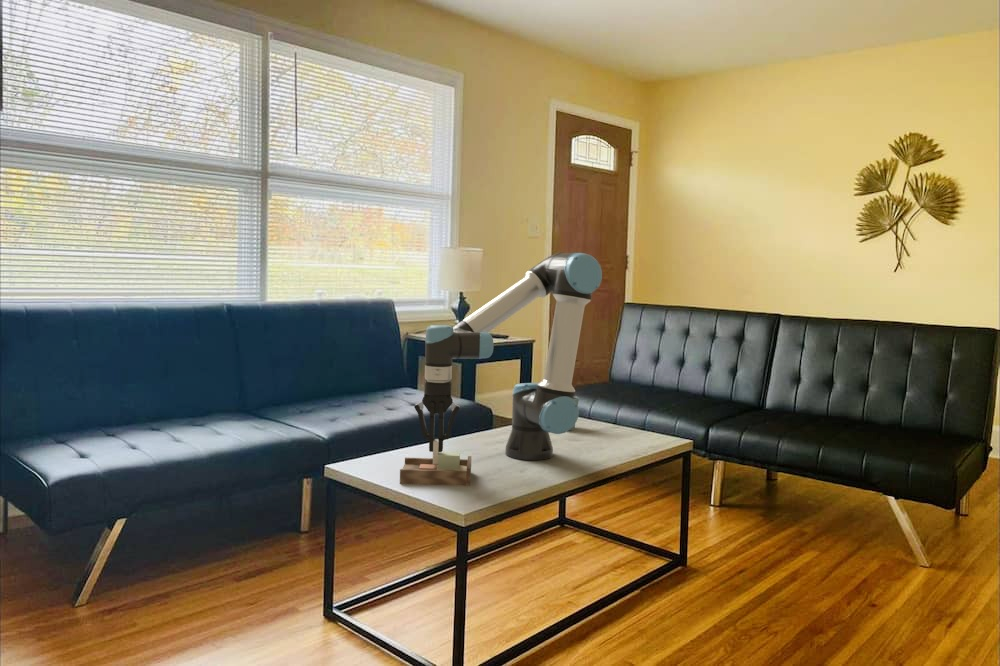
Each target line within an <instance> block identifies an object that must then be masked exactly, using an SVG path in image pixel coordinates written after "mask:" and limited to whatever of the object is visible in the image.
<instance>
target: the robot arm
mask: <svg viewBox="0 0 1000 666" xmlns="http://www.w3.org/2000/svg"><path fill="white" fill-rule="evenodd" d="M602 280H603V271H602V266H601V264H600V262H599V261H598V260H597V259H596V258H595V257H594V256H592V255H591V254H588V253H584V252H557V253H554V254H551V255H550V256H548V257H546V258H544V259H543V260H542V261H540V262H538V263H537V264H536V265H534V266H533V267H531V268H530V269H528V270H527V271H526V272H525V274H524V277H523V278H521V279H520V280H518V281H517V282H516V283H514V284H513V285H511V286H510V287H509V288H507V289H506V290H504V291H502V292H501V293H500V294H499V295H497V296H496V297H494V298H493V299H491V300H490V301H488V302H487V303H485V304H484V305H482V306H481V307H480V308H479V309H477V310H475V311H474V312H472V314H469V316H467V317H465V318H464V319H462V320H461V321H460V322H458V323H457V324H455V325H454V326H451V325H448V324H447V325H446V324H431V325H429V326H428V327H427V328H426V330H425V331H426V333H425V340H424V341H425V342H424V343H425V352H424V353H425V356H424V359H425V361H424V379H425V381H424V387H423V393H424V394H423V397H422V398H421V399H422V401H420V402H418V403H415V404H414V409H415V411H416V413H417V417H418V420H419V423H420V424H419V425H420V429H421V430H420V431H421V434H422V438H423V439H426V440H428V443H429V445H428V450H429V453H431V452H432V458H433V464H438V453H439V452H444V451H443V449H444V441H445V440H449V439H450V436H451V432H452V429H453V424H454V421H455V418H456V415H457V413H458V412H459V410H460V408H461V405H460V404H456V403H455V402H454V401H453V398H452V381H451V380H452V379H453V377H452V376H453V374H452V373H453V360H458V359H460V360H461V359H462V360H463V359H464V360H465V359H466V360H467V359H470V360H473V359H475V360H477V359H479V360H481V359H488V358H489V359H490V357H491V356H492V355H493V353H494V345H495V344H494V339H493V336H492V334H490V332H491V331H493V330H494V329H495V328H497V327H498V326H500V325H501V324H503V323H504V322H505V321H507V320H508V319H510V318H511V317H513V316H514V315H515V314H517V313H519V311H521V310H522V309H524V308H525V307H526V306H528V305H529V304H531V303H532V302H534V301H535V300H536V299H538V298H545V297H547V296H548V295H549V294H551V293H552V296H553V298H554V299H555V308H554V315H553V321H552V325H551V332H550V339H549V345H548V351H547V356H546V362H545V368H544V374H543V379H542V380H541V381H539V382H524V383H523V382H522V383H517V384H514V387H513V389H512V412H511V414H512V415H511V432H510V434H509V437H508V440H507V442H506V445H505V455H506V456H508V457H509V458H512V459H517V460H525V461H541V460H542V461H543V460H548V459H550V458H552V457H553V456H554V454H553V453H554V447H553V444H552V441H551V435H550V434H554V435H555V434H556V435H561V434H565V433H567V432H569V431H568V430H570V429H571V428H572V427H573V426H574V425H575V426H576V424H577V421H578V420H579V419H578V418H579V415H580V414H579V413H580V410H579V405H578V406H577V404H576V402H575V401H574V397H575V396H576V390H575V389H576V388H575V387H574V386H573V384H572V383H573V379H574V378H573V377H574V372H575V367H576V366H575V365H576V359H577V354H578V348H579V342H580V337H581V331H582V323H583V320H584V319H583V318H584V314H585V313H584V312H585V308H586V305H588V304H589V303H590V302H591V301H592V296H593V293H594V292H595V291H596V290H597V289H598V288H599V287H600V285H601V283H602ZM424 407H425V408H426V410H427V412H428V413H429V433H428V428H427V423H426V420H425V414H424ZM450 407H451V408H450ZM449 408H450V411H452V412H451V414H450V416H449V421H448V425H447V429H446V432H445V434H444V426H445V425H444V424H445V413H446V412H447V411H448V410H449ZM436 414H438V438H435V424H436V422H435V421H436V419H435V418H436Z"/></svg>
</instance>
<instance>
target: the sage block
mask: <svg viewBox="0 0 1000 666" xmlns="http://www.w3.org/2000/svg"><path fill="white" fill-rule="evenodd" d="M460 459H461V451H442V452H439V453H438V469H442V470H459V466H460Z"/></svg>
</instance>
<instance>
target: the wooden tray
mask: <svg viewBox="0 0 1000 666" xmlns="http://www.w3.org/2000/svg"><path fill="white" fill-rule="evenodd" d="M420 464H433V457H432V458H431V457H429V458H428V457H404V464H403V467H402V468H400V469H399V484H400V485H424V486H428V485H431V486H456V487H457V486H459V487H460V486H461V487H462V486H463V487H470V486H471V478H472V477H471V476H472V475H471V474H472V455H468V456H467V458H466V459H465V458H464V459H461V458H460V466H459V470H442V469H438V464H434V465H435V470H421V469H419V467H420Z"/></svg>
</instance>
